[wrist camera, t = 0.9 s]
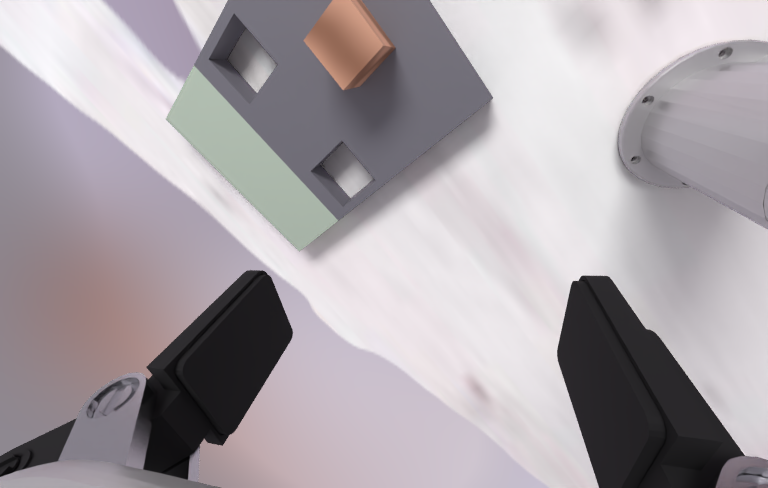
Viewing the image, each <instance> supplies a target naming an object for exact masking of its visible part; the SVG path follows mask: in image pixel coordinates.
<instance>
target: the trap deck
mask: <svg viewBox="0 0 768 488" xmlns="http://www.w3.org/2000/svg"><path fill="white" fill-rule="evenodd" d="M362 1H363V3H364V4H365V6H366V7H367V8H368V10H369V11H370V13H371V14H372V15H373V17H374V18H375V20H376V21H377V22H378V24H379V25H380V27H381V28H382V29H383V31H384V32H385V34H386V35H387V36H388V38H389V39H390V41H391V42H392V43H393V45H394V46H395V49H394V50H393V51H392V53H391V54H390V55H389V56H388V57H387V58H386V59H385V60H384V61H383V62H382V63H381V64H380V65H379V67H378V68H377V69H376V70H375V71H374V72H373V73H372V74H371V75H370V76H369V77H368V78H367V80H366V81H365V82H364V83H363V84H362V85H361V86H360V87H356V88H352V89H347V90H342V88H341V87H340V86H339V85H338V83H337V82H336V81H335V80H334V78H333V77H332V76H331V75H330V73H329V72H328V71H327V70H326V68H325V67H324V66H323V65H322V63H321V62H320V61H319V60H318V58H317V57H316V56H315V55H314V53H313V52H312V51H311V50H310V48H309V47H308V46H307V45H306V43H305V42H304V41H303V40H304V39H305V38H306V36H307V35H308V34H309V32H310V31H311V29H312V28H313V27H314V25H315V24H316V22H317V21H318V20H319V18H320V17H321V16H322V14H323V13H324V11H325V10H326V9H327V7H328V6H329V4H330V3H331V2H332V0H228V1H227V3H226V5H225V7H224V9H223V11H222V13H221V15H220V17H219V19H218V21H217V22H216V24H215V26H214V28H213V30H212V32H211V34H210V36H209V38H208V40H207V41H206V43H205V45H204V47H203V49H202V51H201V53H200V55H199V57H198V59H197V61H196V63H195V64H194V66H193V68H192V70H191V72H190V74H189V76H188V78H187V80H186V82H185V83H184V85H183V87H182V89H181V91H180V93H179V95H178V97H177V99H176V101H175V102H174V104H173V106H172V108H171V110H170V112H169V114H168V116H167V118H166V120H167V121H168V122H169V123H170V124H171V125H172V126H173V127H174V128H175V129H176V130H177V131H178V132H179V133H180V134H181V135H182V136H183V137H184V138H185V139H186V140H187V141H188V142H189V143H190V144H191V145H192V146H193V147H194V148H195V149H196V150H197V151H198V152H199V153H200V154H201V155H202V156H203V157H204V158H205V159H206V160H207V161H208V162H209V163H210V164H211V165H212V166H213V167H214V168H215V169H216V170H217V171H218V172H219V173H220V174H221V175H222V176H223V177H224V178H225V179H226V180H227V181H229V182H230V183H231V184H232V185H233V186H234V187H235V188H236V189H237V190H238V191H239V192H240V193H241V194H242V195H243V196H244V197H245V198H246V199H247V200H248V201H249V202H250V203H251V204H252V205H253V206H254V207H255V208H256V209H257V210H258V211H259V212H260V213H261V214H262V215H263V216H264V217H265V218H266V219H267V220H268V221H269V222H270V223H271V224H272V225H273V226H274V227H275V228H276V229H277V230H278V231H279V232H280V233H281V234H282V235H283V236H284V237H285V238H286V239H287V240H288V241H289V242H290V243H291V244H292V245H293V246H294V247H295V248H296V249H297V250H298V251H301V250H302V249H303V248H304V247H306V246H307V245H308V244H310V243H311V242H312V241H313V240H315V239H316V238H317V237H318V236H320V235H321V234H322V233H323V232H325V231H326V230H327V229H328V228H330V227H331V226H332V225H334V224H335V223H336V222H337V221H339V220H340V219H341V218H342V217H344V216H345V215H346V214H347V213H349V212H350V211H351V210H352V209H354V208H355V207H356V206H358V205H359V204H360V203H361V202H363V201H364V200H365V199H366V198H368V197H369V196H370V195H371V194H373V193H374V192H375V191H376V190H378V189H379V188H380V187H382V186H383V185H384V184H385V183H387V182H388V181H389V180H390V179H392V178H393V177H394V176H395V175H397V174H398V173H399V172H400V171H402V170H403V169H404V168H406V167H407V166H408V165H409V164H411V163H412V162H413V161H414V160H416V159H417V158H418V157H419V156H421V155H422V154H423V153H424V152H426V151H427V150H428V149H430V148H431V147H432V146H433V145H435V144H436V143H437V142H438V141H440V140H441V139H442V138H443V137H445V136H446V135H447V134H448V133H450V132H451V131H452V130H454V129H455V128H456V127H457V126H459V125H460V124H461V123H462V122H464V121H465V120H466V119H467V118H469V117H470V116H471V115H472V114H474V113H475V112H476V111H478V110H479V109H480V108H481V107H483V106H484V105H485V104H486V103H488V102H489V101H490V100H491V99H493V97H492V95H491V94H490V92H489V91H488V89H487V88H486V86H485V85H484V83H483V82H482V80H481V78H480V77H479V75H478V74H477V72H476V71H475V69H474V68H473V66H472V65H471V63H470V62H469V60H468V58H467V57H466V55H465V54H464V52H463V51H462V49H461V48H460V46H459V45H458V43H457V42H456V40H455V39H454V37H453V35H452V34H451V32H450V31H449V29H448V28H447V26H446V25H445V23H444V22H443V20H442V19H441V17H440V16H439V14H438V12H437V11H436V9H435V8H434V6H433V5H432V3H431V2H430V0H362ZM245 28H247V29H248V30H249V31H250V32H251V34H252V35H253V36H254V37H255V38H256V40H257V41H258V42H259V43H260V44H261V45H262V47H263V48H264V49H265V50H266V51H267V53H268V54H269V55H270V56H271V57H272V58H273V60H274V61H275V62H276V63H277V64H278V65H277V66H276V68H275V69H274V71H273V72H272V73H271V75H270V76H269V78H268V79H267V80H266V82H265V83H264V85H263V86H262V88H261V89H260V90H259V92H258V93H256V92H255V91H254V90H253V89H252V87H251V86H250V85H249V84H248V83H247V82H246V81H245V80H244V78H243V77H242V76H241V75H240V74H239V73H238V72H237V71H236V69H235V68H234V67H233V66H232V65H231V64H230V63H229V62H228V60H227V58H228V56H229V55H230V53H231V51H232V50H233V48H234V46H235V45H236V43H237V41H238V39H239V38H240V36H241V34H242V33H243V31H244V29H245ZM343 142H344V144H345V145H346V146H347V147H348V148H349V150H350V151H351V152H352V153H353V154H354V156H355V157H356V158H357V159H358V160H359V161H360V163H361V164H362V165H363V166H364V167H365V169H366V170H367V171H368V172H369V173H370V174H371V176H372V177H373V178H374V180H372V181H371V182H370V183H369V184H367V185H366V186H365V187H364V188H363V189H361V190H360V191H359V192H358V193H357V194H355V195H354V196H353V197H352V198H350V197H349V196H348V195H347V194H346V193H345V192H344V191H343V189H342V188H341V187H340V186H339V185H338V184H337V183H336V182H335V181H334V179H333V178H332V177H331V176H330V175H329V174H328V173H327V172H326V170H325V169H324V168H323V167H322V166H321V165H320V164H321V163H322V162H323V161H324V160H325V159H326V158H327V157H328V156H329V155H330V154H331V153H333V152H334V151H335V150H336V149H337V148H338V147H339V146H340V145H341V144H342V143H343Z"/></svg>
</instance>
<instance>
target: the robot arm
mask: <svg viewBox="0 0 768 488" xmlns="http://www.w3.org/2000/svg"><path fill="white" fill-rule="evenodd" d="M720 51H721V54H720V55H719V53H720ZM645 97H646V101H645V102H643V103H642V101H643V99H644V98H645ZM618 147H619V152H620V156H621V158H622V161H623V163H624V165H625V166H626V167H627V168H628V169H629V170H630V172H631V173H633V174H634V175H635V176H637V177H638V178H640V179H642V180H643V181H645V182H647V183H649V184H653V185H656V186H660V187H668V188H687V187H692V188H694V189H696V190H698V191H700V192H701V193H703V194H705V195H707V196H709V197H710V198H712V199H714V200H716V201H718V202H719V203H721V204H723V205H725V206H726V207H728V208H730V209H732V210H734V211H735V212H737V213H739V214H741V215H743V216H744V217H746V218H748V219H750V220H752V221H753V222H755V223H757V224H759V225H761V226H762V227H764V228H766V229H768V42H765V41H757V40H738V41H729V42H723V43H717V44H714V45H710V46H707V47H704V48H701V49H698V50H696V51H694V52H692V53H690V54H687V55H685V56H683V57H681V58H679V59H678V60H676V61H675V62H673V63H672V64H670V65H668V66H667V67H665V68H664V69H663V70H662V71H660V72H659V73H658V74H657V75H656V76H654V77H653V78H652V79H651V80H650V81H649V82H648V83H647V84H646V85H645V86H644V87H643V88H642V89H641V90H640V91H639V93H638V94H637V95H636V97H635V98H634V100H633V101H632V103H631V104H630V105H629V107H628V109H627V111H626V113H625V115H624V117H623V119H622V123H621V126H620V130H619V137H618ZM633 157H634V159H632V158H633ZM631 159H632V160H631ZM292 334H293V331H292V328H291V325H290V323H289V321H288V318H287V315H286V313H285V311H284V308H283V306H282V303H281V301H280V298H279V296H278V293H277V291H276V288H275V286H274V283H273V281H272V278H271V277H270V276H269V275H267V273H266V272H265V271H252V270H250V271H246V272H245V273H244V274H242V275H241V276H240V277H239V278H238V279H237V280H236V281H235V282H234V283H233V284H232V285H231V286H230V287H229V288H228V289H227V290H226V291H225V292H224V293H223V294H222V295H221V296H220V297H219V298H218V299H216V300H215V301H214V303H212V304H211V305H210V306H209V307H208V308H207V309H206V310H205V311H204V312H203V313H202V314H201V315H200V316H199V317H198V318H197V319H196V320H195V321H194V322H193V323H192V324H191V325H190V326H189V327H188V328H186V329H185V330H184V331H183V332H182V333H181V334H180V335H179V336H178V337H177V338H176V339H175V340H174V341H173V342H172V343H171V344H170V345H169V346H168V347H167V348H166V349H165V350H164V351H163V352H162V353H161V354H160V355H158V356H157V357H156V358H155V359H154V360H153V361H152V362H151V363H150V364H149V365H148V366H147V368H148V370H149V371H150V372H151V373H152V376H151V378H149V379H147V378H146V377H145V376H144V374H142V373H129V374H126V375H123V376H120V377H118V378H116V379H114V380H112V381H110V382H109V383H107V384H106V385H105V386H103V387H101V388H100V389H99V390H98V391H97V392H95V393H94V394H93V395H92V396H91V397H90V398H89V399H88V400H87V402H86V403H85V404H84V405H83V407H82V409H81V410H80V413H79V414H78V417H77V418H76V419H74V420H73V421H70V422H68V423H66V424H64V425H62V426H60V427H58V428H56V429H54V430H52V431H49V432H48V433H45V434H44V435H41V436H39V437H37V438H35V439H33V440H31V441H29V442H27V443H25V444H23V445H20V446H18V447H16V448H14V449H12V450H10V451H9V452H7V453H5V454H3V455H2V456H0V488H220V487H215V486H211V485H207V484H203V483H199V482H198V476H199V454H200V444H201V442H202V441H203V439H205V440H206V441H207V442H208V443H212V444H217V445H223V444H224V443H225V441H226V439H227V438H228V436H229V435H230V434H232V433H233V432H234V431H235V430H236V429H237V427H238V425H239V424H240V422H241V421H242V419H243V417H244V416H245V414H246V412H247V411H248V409H249V408H250V406H251V404H252V402H253V401H254V399H255V398H256V396H257V395H258V393H259V391H260V390H261V388H262V386H263V385H264V383H265V381H266V380H267V378H268V377H269V375H270V373H271V371H272V370H273V368H274V367H275V365H276V364H277V362H278V360H279V359H280V357H281V355H282V354H283V352H284V351H285V349H286V347H287V346H288V344H289V343H290V341H291V339H292ZM557 356H558V362H559V365H560V368H561V371H562V374H563V378H564V381H565V384H566V387H567V390H568V393H569V396H570V399H571V402H572V405H573V408H574V411H575V414H576V418H577V421H578V424H579V427H580V430H581V433H582V436H583V439H584V442H585V445H586V448H587V451H588V454H589V458H590V461H591V464H592V467H593V470H594V473H595V476H596V479H597V482H598V485H599V488H768V460H766V459H762V458H759V457H749V456H745V455H744V454H743V452H742V451H741V450H740V448H739V447H738V446H737V444H736V443H735V441H734V440H733V439H732V437H731V436H730V434H729V433H728V432H727V430H726V429H725V428H724V426H723V425H722V423H721V422H720V421H719V419H718V418H717V416H716V415H715V414H714V412H713V411H712V410H711V408H710V407H709V405H708V404H707V403H706V401H705V400H704V398H703V397H702V396H701V394H700V393H699V392H698V390H697V389H696V387H695V386H694V385H693V383H692V382H691V380H690V379H689V378H688V376H687V375H686V374H685V372H684V371H683V369H682V368H681V367H680V365H679V364H678V362H677V361H676V360H675V358H674V357H673V356H672V354H671V353H670V351H669V350H668V349H667V347H666V346H665V344H664V343H663V342H662V340H661V339H660V338H659V337H658V335H657V334H656V333H655V332H653V331H651V330H646V329H645V327H644V326H643V324H642V323H641V322H640V320H639V319H638V317H637V316H636V314H635V313H634V311H633V310H632V309H631V307H630V306H629V304H628V303H627V301H626V300H625V298H624V297H623V296H622V294H621V293H620V291H619V290H618V288H617V287H616V285H615V284H614V283H613V281H612V280H611V279H610V278H609V277H608V276H581V278H580V279H579V281H573V282H572V285H571V289H570V294H569V298H568V303H567V307H566V312H565V317H564V321H563V326H562V331H561V335H560V340H559V345H558V350H557Z"/></svg>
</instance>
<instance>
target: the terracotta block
mask: <svg viewBox="0 0 768 488" xmlns="http://www.w3.org/2000/svg"><path fill="white" fill-rule="evenodd" d="M303 41H304V42H305V43H306V45H307V46H308V47H309V48H310V50H311V51H312V52H313V53H314V55H315V56H316V57H317V58H318V60H319V61H320V62H321V63H322V65H323V66H324V67H325V68H326V70H327V71H328V72H329V73H330V75H331V76H332V77H333V78H334V80H335V81H336V82H337V83H338V85H339V86H340V87H341V88H342V90H347V89H352V88H356V87H360V86H361V85H362V84H363V83H364V82H365V81H366V80H367V78H368V77H369V76H370V75H371V74H372V73H373V72H374V71H375V70H376V69H377V68H378V67H379V65H380V64H381V63H382V62H383V61H384V60H385V59H386V58H387V57H388V56H389V55H390V54H391V53H392V51H393V50H394V49H395V46H394V45H393V43H392V42H391V41H390V39H389V38H388V36H387V35H386V34H385V32H384V31H383V29H382V28H381V27H380V25H379V24H378V22H377V21H376V20H375V18H374V17H373V15H372V14H371V13H370V11H369V10H368V8H367V7H366V6H365V4H364V3H363V1H362V0H332V2H331V3H330V4H329V6H328V7H327V9H326V10H325V11H324V13H323V14H322V16H321V17H320V18H319V20H318V21H317V22H316V24H315V25H314V27H313V28H312V29H311V31H310V32H309V34H308V35H307V36H306V38H305V39H304V40H303Z"/></svg>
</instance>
